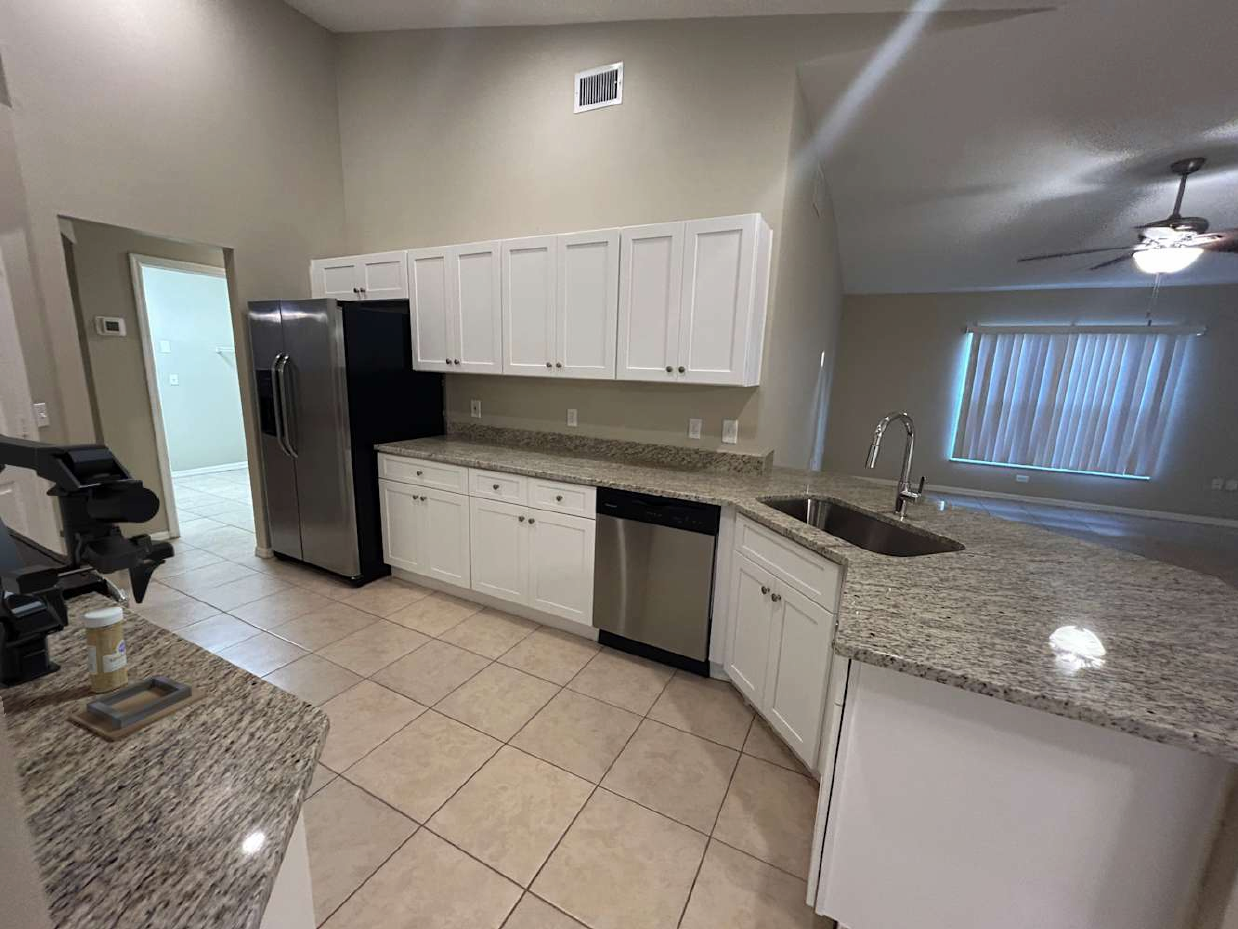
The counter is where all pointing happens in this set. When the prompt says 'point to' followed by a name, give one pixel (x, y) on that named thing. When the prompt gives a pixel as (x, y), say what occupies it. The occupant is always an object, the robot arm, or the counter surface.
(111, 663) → the sprinkles bottle
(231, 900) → the counter surface
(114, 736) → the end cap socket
